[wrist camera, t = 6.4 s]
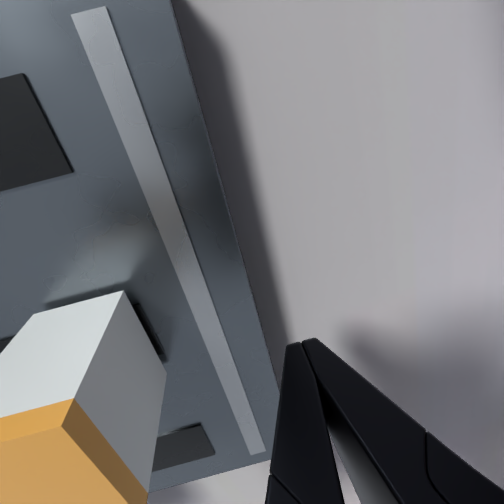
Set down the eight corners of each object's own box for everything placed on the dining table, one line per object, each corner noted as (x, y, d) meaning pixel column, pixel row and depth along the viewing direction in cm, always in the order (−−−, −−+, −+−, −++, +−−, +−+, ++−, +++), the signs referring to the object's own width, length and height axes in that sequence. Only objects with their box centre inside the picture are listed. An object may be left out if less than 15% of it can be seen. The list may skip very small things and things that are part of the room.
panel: (162, -30, 8) (149, -70, 6) (286, 416, 17) (296, 454, 15) (-497, 136, 8) (-716, 146, 6) (-17, 499, 17) (-45, 548, 15)
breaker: (123, 290, 10) (61, 425, 6) (167, 373, 12) (143, 521, 7) (33, 314, 10) (-97, 468, 6) (91, 393, 11) (26, 553, 7)
